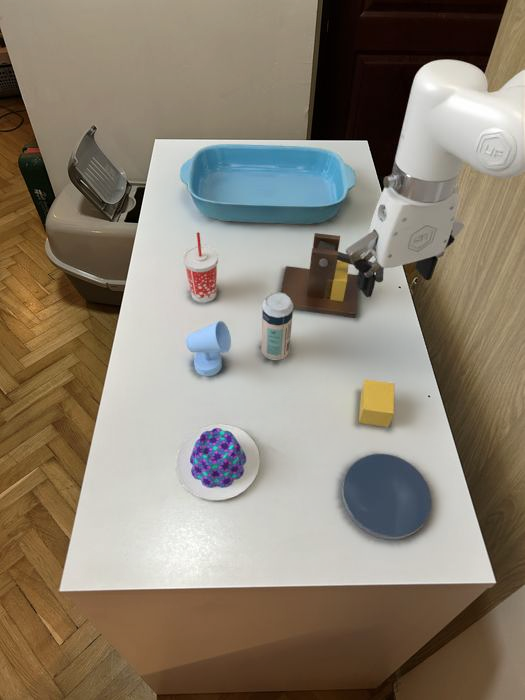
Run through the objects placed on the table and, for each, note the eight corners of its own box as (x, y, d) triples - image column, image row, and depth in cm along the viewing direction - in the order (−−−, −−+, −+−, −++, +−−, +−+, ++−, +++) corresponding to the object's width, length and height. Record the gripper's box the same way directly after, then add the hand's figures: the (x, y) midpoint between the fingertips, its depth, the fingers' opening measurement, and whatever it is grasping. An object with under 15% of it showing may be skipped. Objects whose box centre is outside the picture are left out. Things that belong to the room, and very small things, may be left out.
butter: (344, 282, 99) (348, 262, 95) (343, 301, 96) (346, 281, 92) (326, 280, 99) (329, 259, 95) (323, 298, 96) (326, 278, 92)
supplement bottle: (282, 336, 92) (286, 287, 82) (293, 357, 89) (298, 308, 80) (257, 344, 91) (257, 294, 81) (267, 365, 88) (269, 316, 78)
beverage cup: (227, 290, 99) (224, 230, 88) (206, 310, 95) (201, 250, 84) (201, 277, 101) (195, 217, 90) (180, 296, 97) (171, 236, 86)
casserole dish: (346, 173, 123) (351, 144, 118) (356, 234, 109) (362, 205, 104) (188, 169, 123) (185, 140, 118) (177, 230, 109) (173, 201, 104)
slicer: (358, 279, 101) (369, 230, 92) (355, 317, 95) (366, 268, 86) (285, 270, 102) (289, 220, 93) (278, 307, 96) (280, 258, 87)
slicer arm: (380, 264, 94) (386, 254, 92) (380, 285, 91) (385, 276, 89) (316, 244, 93) (321, 234, 91) (313, 265, 90) (317, 255, 88)
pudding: (232, 518, 72) (230, 502, 67) (159, 477, 75) (154, 460, 71) (274, 448, 78) (275, 430, 74) (206, 414, 82) (203, 395, 78)
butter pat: (389, 397, 84) (394, 383, 81) (388, 427, 81) (393, 413, 78) (360, 393, 85) (364, 379, 81) (358, 423, 81) (363, 409, 78)
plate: (427, 464, 77) (429, 460, 76) (430, 546, 70) (432, 543, 69) (345, 451, 78) (346, 447, 77) (338, 531, 71) (340, 528, 70)
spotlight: (233, 356, 89) (193, 351, 89) (232, 315, 81) (187, 311, 82) (229, 379, 86) (187, 375, 86) (227, 340, 78) (181, 335, 78)
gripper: (375, 211, 59) (352, 316, 72) (503, 180, 63) (459, 284, 76) (344, 174, 63) (328, 280, 76) (466, 147, 67) (430, 252, 80)
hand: (393, 282), depth 76 cm, fingers open, 9 cm apart
